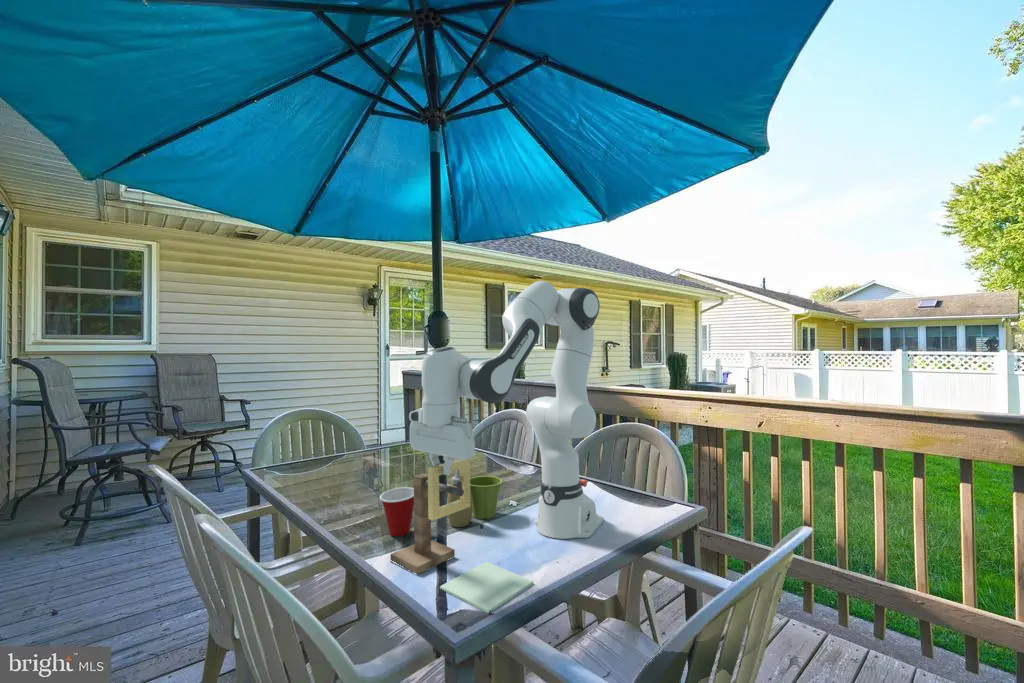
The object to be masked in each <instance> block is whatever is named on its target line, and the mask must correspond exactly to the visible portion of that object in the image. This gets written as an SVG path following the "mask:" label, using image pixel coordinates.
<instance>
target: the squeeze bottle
mask: <svg viewBox="0 0 1024 683" xmlns="http://www.w3.org/2000/svg"><path fill="white" fill-rule="evenodd" d="M457 482H460V470H456V471H455V475H454V476H452V477H451V483H450V484H449V486H452V487H455V488H457ZM457 500H460V496H458V495H454V494H451V493H447V501H446V502H447V503H446V504H448V503H451V502H454V501H457ZM472 515H473V510H472V501H471V492H470V507H468V508H465V509H463V510H460V511H457V512H455V513H452V514H450V515H447V519H448V522H449V524H450V526H451V527H452V528H453V527H454V528H463V527H466V526H469V524H470V523H471V519H472Z"/></svg>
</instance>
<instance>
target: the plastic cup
mask: <svg viewBox="0 0 1024 683" xmlns="http://www.w3.org/2000/svg"><path fill="white" fill-rule="evenodd" d="M379 500H380V501H381V502H382V506H383V508H384V514H385V519H386V524H387V527H388V533H389V535H390V536H391V535H392V536H391V537H393V536H401V537H404V536H403V535H405V536H407V535H409V534H410V531H411V526H412V518H413V515H414V487H410V486H409V487H408V486H407V487H406V486H405V487H396V488H392V489H388V490H386V491H384V492H382V493H381V494H380V495H379ZM406 534H407V535H406Z"/></svg>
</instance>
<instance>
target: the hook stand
mask: <svg viewBox="0 0 1024 683" xmlns="http://www.w3.org/2000/svg"><path fill="white" fill-rule="evenodd" d="M413 488H414V506H413V529H414V531H413V533H414V534H413V537H414V538H413V539H414V542H413V544H411V545H408V546H406V547H404V548H401V549H399V550H397V551H394V552H392V553H390V561H391V560H392V561H394V562H396V563H397V564H399V565H401V566H403V567H404V568H406V569H408V570H410V571H412V572H414V573H416V574H419V573H421V572H423V571H425V572H427V571H429V570H431V569H433V568H432V567H434V568H435V566H436V565H438V564H440V563H442V562H444V561H446V560H448V559H450V558H452V557H454V556H456V555H455V554H456V553H455V551H456V550H455V549H454V548H452V547H451V546H447V545H445V544H442V543H440V542H437V541H435V540H432V523H431V522H432V520H429V519H428V473H427V474H426V473H419V474H415V475H413ZM439 491H440V492H445V493H447V494H448V493H451V494H454V495H458V496H463V494H464V490H463V489H462V482H457V488H455V487H452V486H450V485H447V484H445V483H440V482H439ZM454 558H455V557H454ZM452 559H453V558H452ZM450 560H451V559H450ZM448 561H449V560H448ZM446 562H447V561H446ZM444 563H445V562H444ZM442 564H443V563H442ZM440 565H441V564H440ZM438 566H439V565H438ZM436 567H437V566H436ZM404 568H403V569H404ZM430 568H431V569H430ZM406 569H405V570H406ZM428 569H429V570H428ZM408 570H407V571H408ZM426 570H427V571H426ZM423 573H424V572H423ZM421 574H422V573H421ZM419 575H420V574H419Z"/></svg>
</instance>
